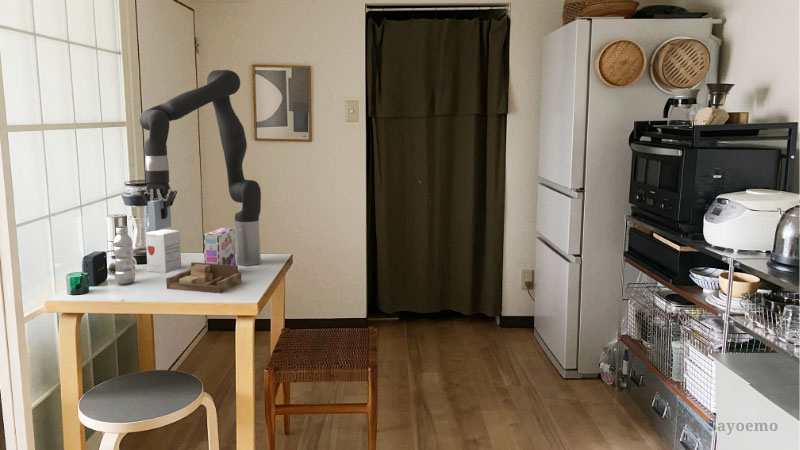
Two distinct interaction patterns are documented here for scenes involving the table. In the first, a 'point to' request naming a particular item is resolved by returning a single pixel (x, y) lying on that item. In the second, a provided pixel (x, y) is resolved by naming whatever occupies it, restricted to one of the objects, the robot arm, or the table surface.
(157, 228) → the board
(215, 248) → the candy box
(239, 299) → the table surface
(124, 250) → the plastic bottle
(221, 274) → the tray
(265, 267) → the table surface
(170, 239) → the supplement box
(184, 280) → the offcut
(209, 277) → the offcut
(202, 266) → the offcut
